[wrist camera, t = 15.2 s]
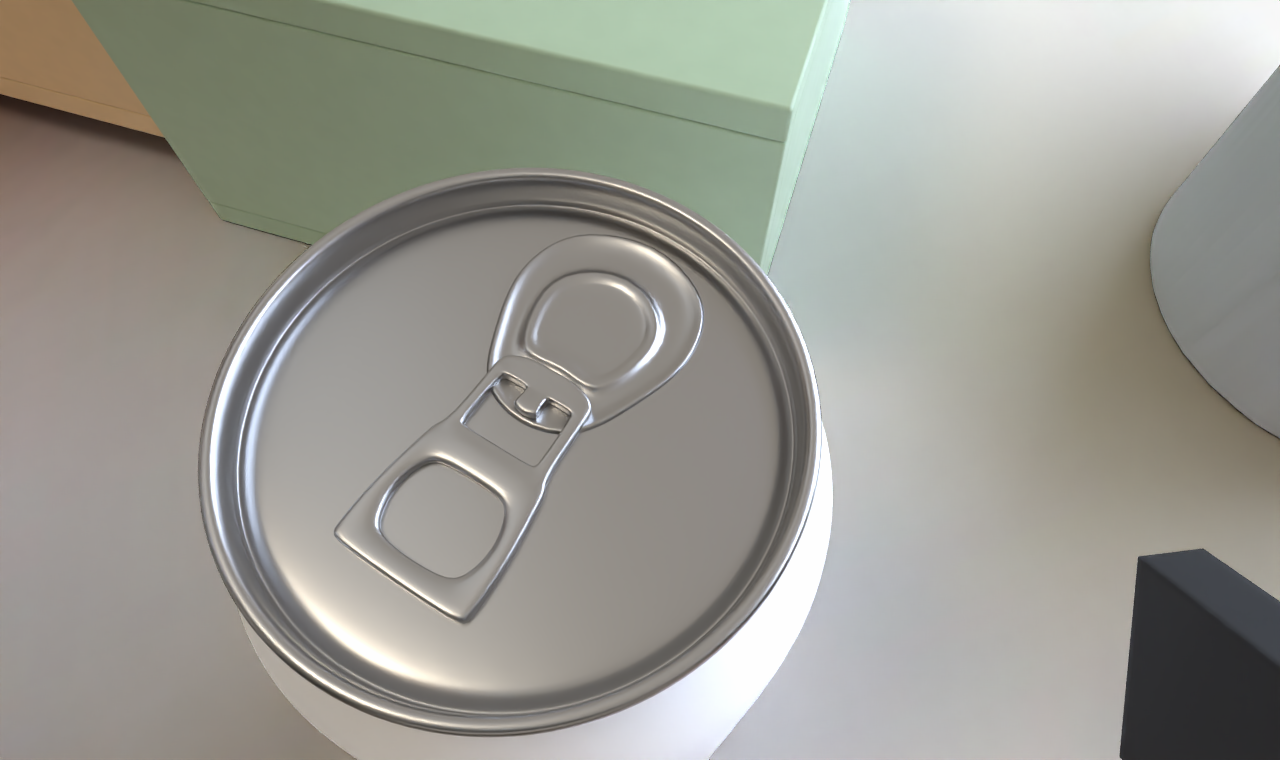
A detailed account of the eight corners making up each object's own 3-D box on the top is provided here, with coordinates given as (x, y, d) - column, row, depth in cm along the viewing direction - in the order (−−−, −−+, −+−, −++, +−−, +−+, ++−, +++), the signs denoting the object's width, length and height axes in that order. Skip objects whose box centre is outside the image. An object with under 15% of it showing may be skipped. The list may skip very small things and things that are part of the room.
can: (794, 605, 19) (986, 309, 8) (633, 897, 17) (616, 1002, 6) (550, 457, 21) (451, 52, 10) (369, 702, 18) (-18, 508, 8)
